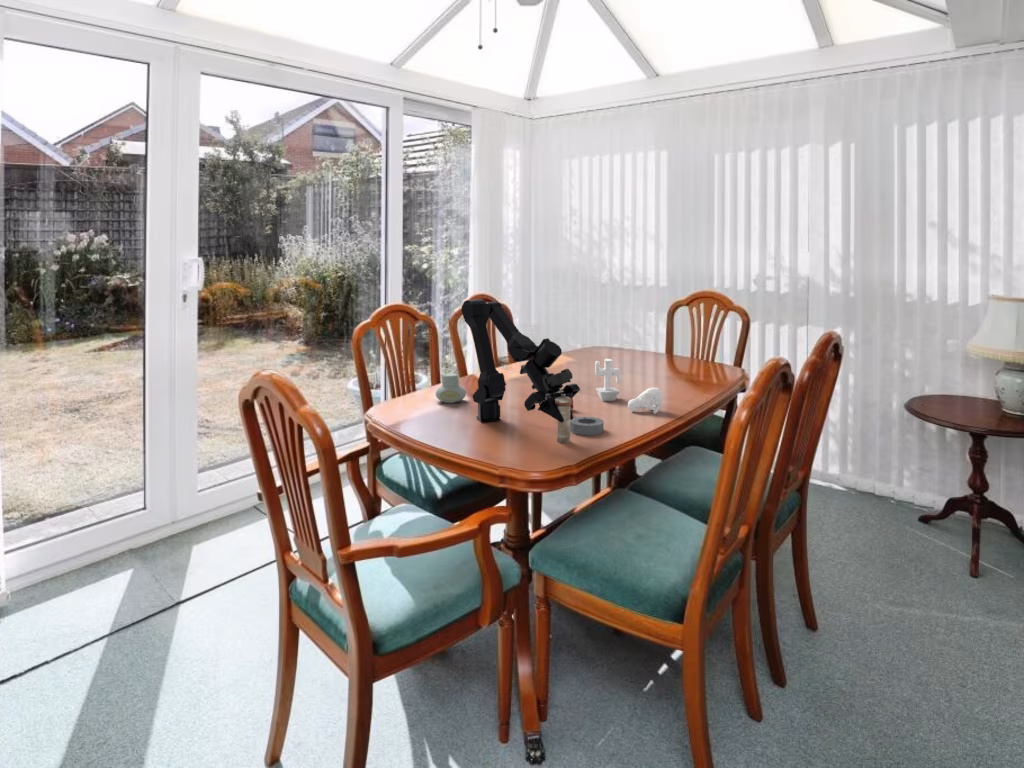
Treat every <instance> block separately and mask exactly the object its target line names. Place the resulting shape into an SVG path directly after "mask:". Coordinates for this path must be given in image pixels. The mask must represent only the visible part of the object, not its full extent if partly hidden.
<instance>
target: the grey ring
mask: <svg viewBox="0 0 1024 768" xmlns="http://www.w3.org/2000/svg"><path fill="white" fill-rule="evenodd" d="M570 433H573V434H575V435H579V436H597V435H601V434H603V433H604V420H603V419H601V418H599V417H595V416H576V417H573V419H572V420H570Z"/></svg>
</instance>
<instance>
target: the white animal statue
mask: <svg viewBox="0 0 1024 768" xmlns="http://www.w3.org/2000/svg"><path fill="white" fill-rule="evenodd" d="M662 402H663V393H662V390H660V388H659V387H655V386H654V387H649V388H646V389H645V390H644V391H642V393H640V394H639V395H638V396H637V397H636V398H632V399H630V400H629V401H628V402H627V407H628V409H629V410H630V411H631V413H636V412H637V411H638V410H639V409H648V410H650V411H652V412H653V414H657V413H658V412H659V411H660V410H661V406H662Z"/></svg>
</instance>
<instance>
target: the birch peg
mask: <svg viewBox="0 0 1024 768" xmlns="http://www.w3.org/2000/svg"><path fill="white" fill-rule="evenodd" d="M557 405H558V410H559V411H560V413H561V415H562V417H563V419H564V422H563V423H561V422H559V421H558V420H557V443H559V444H569V443H571V431H570V406H571V398H570V397H558V401H557Z"/></svg>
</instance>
